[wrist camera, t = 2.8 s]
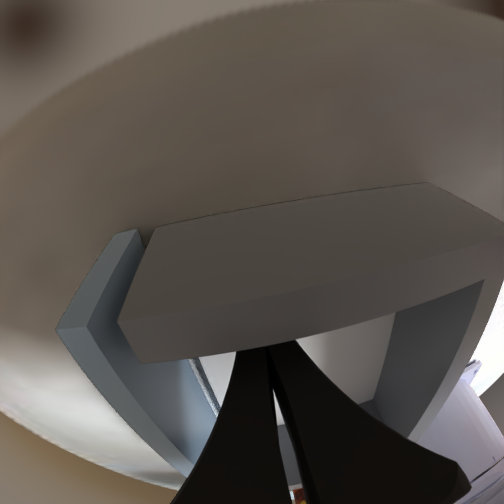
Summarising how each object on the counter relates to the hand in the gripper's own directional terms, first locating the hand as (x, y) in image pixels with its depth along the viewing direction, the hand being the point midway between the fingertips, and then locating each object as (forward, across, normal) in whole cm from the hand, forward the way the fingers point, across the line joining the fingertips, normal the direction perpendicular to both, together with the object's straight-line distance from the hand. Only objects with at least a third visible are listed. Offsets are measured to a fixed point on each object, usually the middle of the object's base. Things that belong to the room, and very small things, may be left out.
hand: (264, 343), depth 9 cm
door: (+2, +4, +3) cm, 5 cm away
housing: (+2, -2, +3) cm, 4 cm away
